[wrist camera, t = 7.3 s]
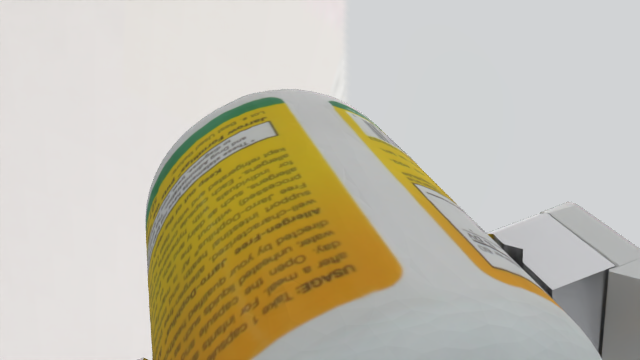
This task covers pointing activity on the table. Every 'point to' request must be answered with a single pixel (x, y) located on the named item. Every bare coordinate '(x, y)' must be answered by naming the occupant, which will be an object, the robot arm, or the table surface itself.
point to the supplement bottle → (328, 249)
